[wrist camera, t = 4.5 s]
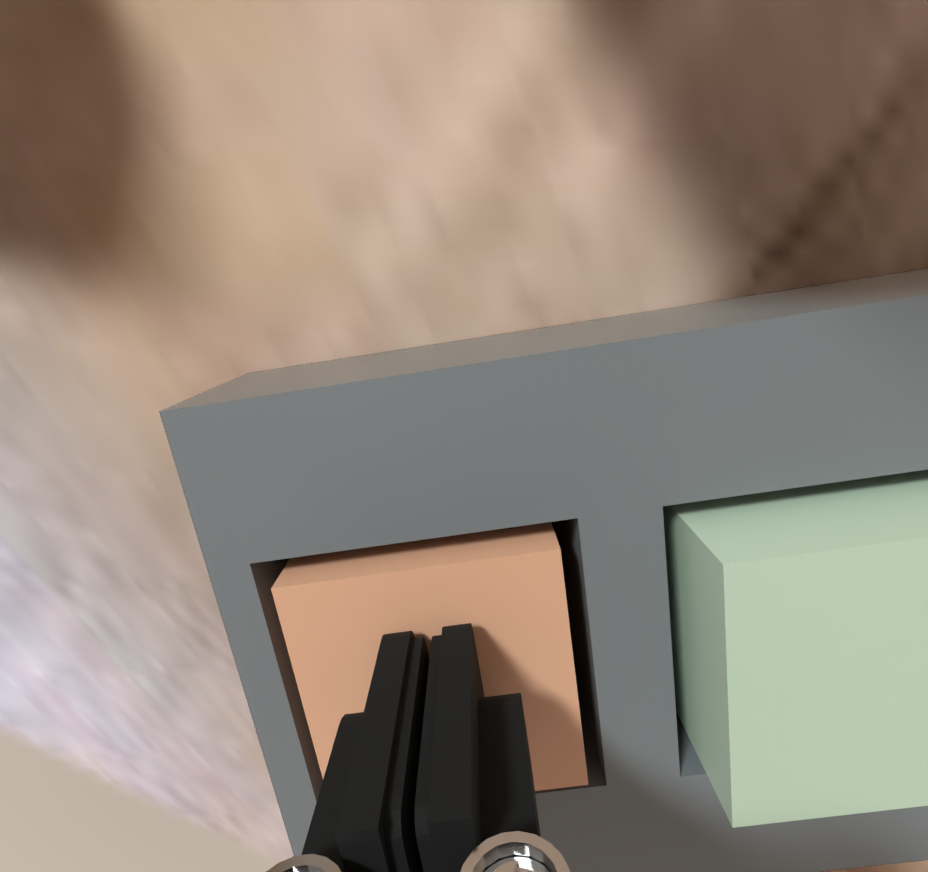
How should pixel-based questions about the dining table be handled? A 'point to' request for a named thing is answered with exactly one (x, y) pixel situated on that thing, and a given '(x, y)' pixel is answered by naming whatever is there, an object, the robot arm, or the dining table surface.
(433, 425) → the button panel
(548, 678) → the terracotta button
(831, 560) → the sage button
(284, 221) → the dining table surface
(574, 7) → the dining table surface
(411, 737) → the robot arm
